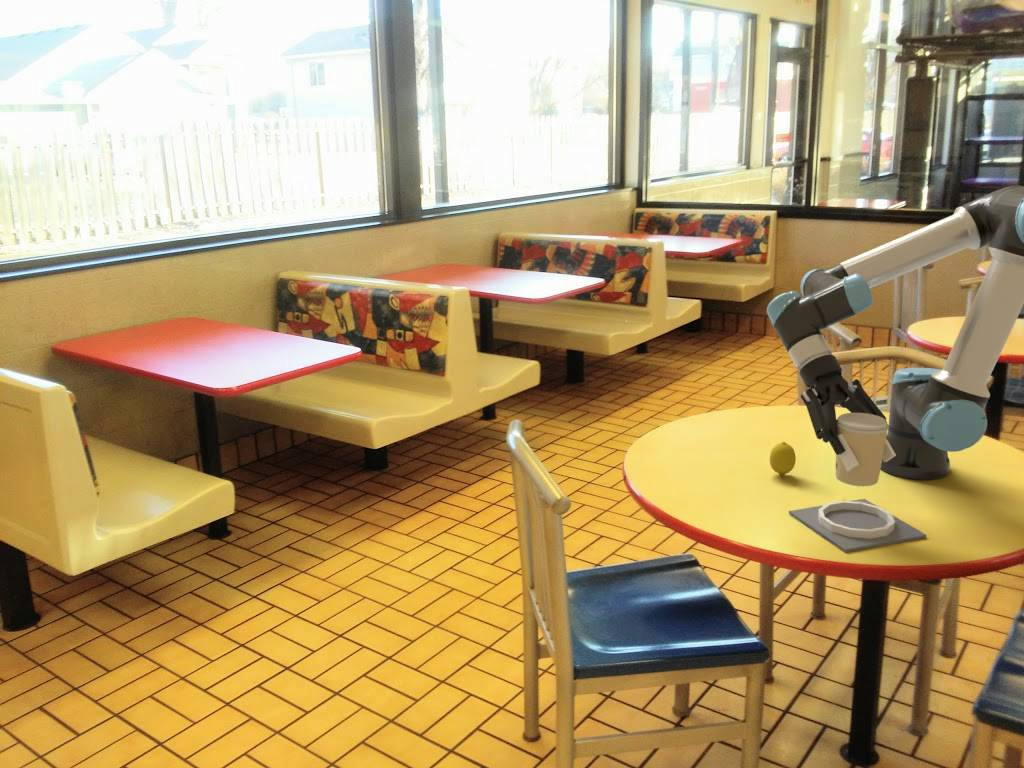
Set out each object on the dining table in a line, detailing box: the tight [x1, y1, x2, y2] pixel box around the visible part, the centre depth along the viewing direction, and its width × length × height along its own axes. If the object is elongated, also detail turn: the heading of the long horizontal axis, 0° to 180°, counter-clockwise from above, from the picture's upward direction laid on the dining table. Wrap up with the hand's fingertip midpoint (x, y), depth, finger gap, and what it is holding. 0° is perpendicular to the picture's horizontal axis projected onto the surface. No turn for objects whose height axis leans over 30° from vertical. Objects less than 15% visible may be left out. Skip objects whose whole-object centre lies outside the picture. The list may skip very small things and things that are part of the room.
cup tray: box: [788, 498, 927, 553], centre depth 175 cm, size 18×18×2 cm
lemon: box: [769, 441, 797, 477], centre depth 199 cm, size 6×6×8 cm
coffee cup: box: [835, 412, 889, 487], centre depth 171 cm, size 9×9×12 cm
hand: (872, 463), depth 168 cm, fingers closed on coffee cup, 9 cm apart
